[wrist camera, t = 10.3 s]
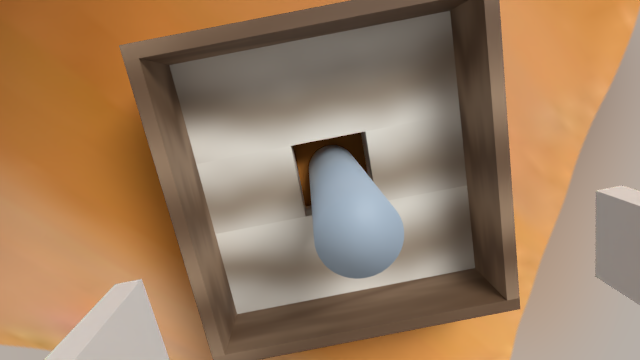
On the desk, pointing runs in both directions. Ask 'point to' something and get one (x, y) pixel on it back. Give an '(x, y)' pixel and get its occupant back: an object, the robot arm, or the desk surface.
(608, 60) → the desk surface
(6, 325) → the desk surface
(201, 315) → the box
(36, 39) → the desk surface
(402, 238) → the peg
